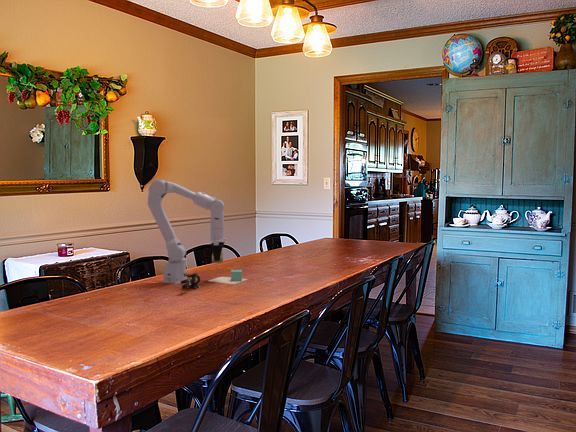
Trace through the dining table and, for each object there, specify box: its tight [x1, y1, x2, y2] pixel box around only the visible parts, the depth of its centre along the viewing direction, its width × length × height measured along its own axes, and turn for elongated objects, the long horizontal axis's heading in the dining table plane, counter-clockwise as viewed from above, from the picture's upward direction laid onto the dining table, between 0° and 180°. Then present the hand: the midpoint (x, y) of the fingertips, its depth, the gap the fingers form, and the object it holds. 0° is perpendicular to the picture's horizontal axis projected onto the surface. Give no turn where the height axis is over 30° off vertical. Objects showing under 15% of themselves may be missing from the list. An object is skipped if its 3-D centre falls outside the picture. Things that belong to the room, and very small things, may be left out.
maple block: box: [211, 251, 224, 264], centre depth 212 cm, size 4×4×4 cm
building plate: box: [208, 276, 248, 285], centre depth 213 cm, size 11×14×1 cm
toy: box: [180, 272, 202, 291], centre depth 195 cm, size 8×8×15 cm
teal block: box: [230, 269, 243, 282], centre depth 213 cm, size 4×4×4 cm
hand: (217, 259), depth 212 cm, fingers closed on maple block, 4 cm apart
